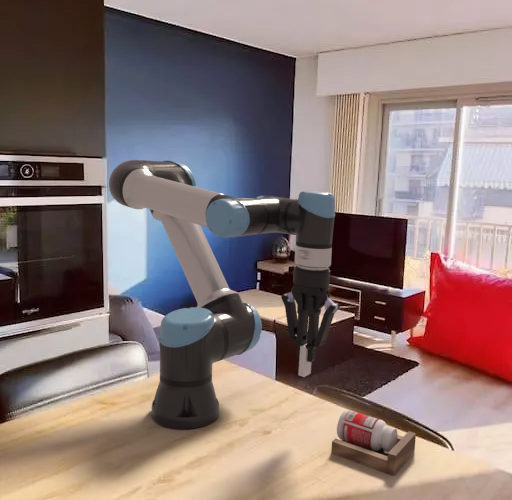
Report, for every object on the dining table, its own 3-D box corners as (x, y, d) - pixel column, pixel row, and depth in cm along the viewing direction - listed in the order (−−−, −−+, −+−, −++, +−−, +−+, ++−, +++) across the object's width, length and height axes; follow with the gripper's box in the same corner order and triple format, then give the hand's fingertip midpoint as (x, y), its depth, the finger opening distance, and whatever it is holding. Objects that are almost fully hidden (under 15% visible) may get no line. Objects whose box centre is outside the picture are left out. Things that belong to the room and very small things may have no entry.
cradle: (331, 453, 108) (332, 434, 108) (355, 432, 117) (356, 414, 117) (394, 475, 101) (395, 455, 100) (414, 452, 110) (416, 433, 109)
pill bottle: (342, 442, 115) (392, 460, 108) (332, 433, 110) (384, 451, 104) (351, 414, 117) (401, 430, 111) (343, 404, 113) (394, 420, 106)
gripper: (276, 263, 113) (269, 371, 117) (331, 274, 106) (323, 388, 110) (294, 259, 119) (288, 361, 123) (348, 269, 112) (339, 377, 116)
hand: (304, 374), depth 117 cm, fingers closed
